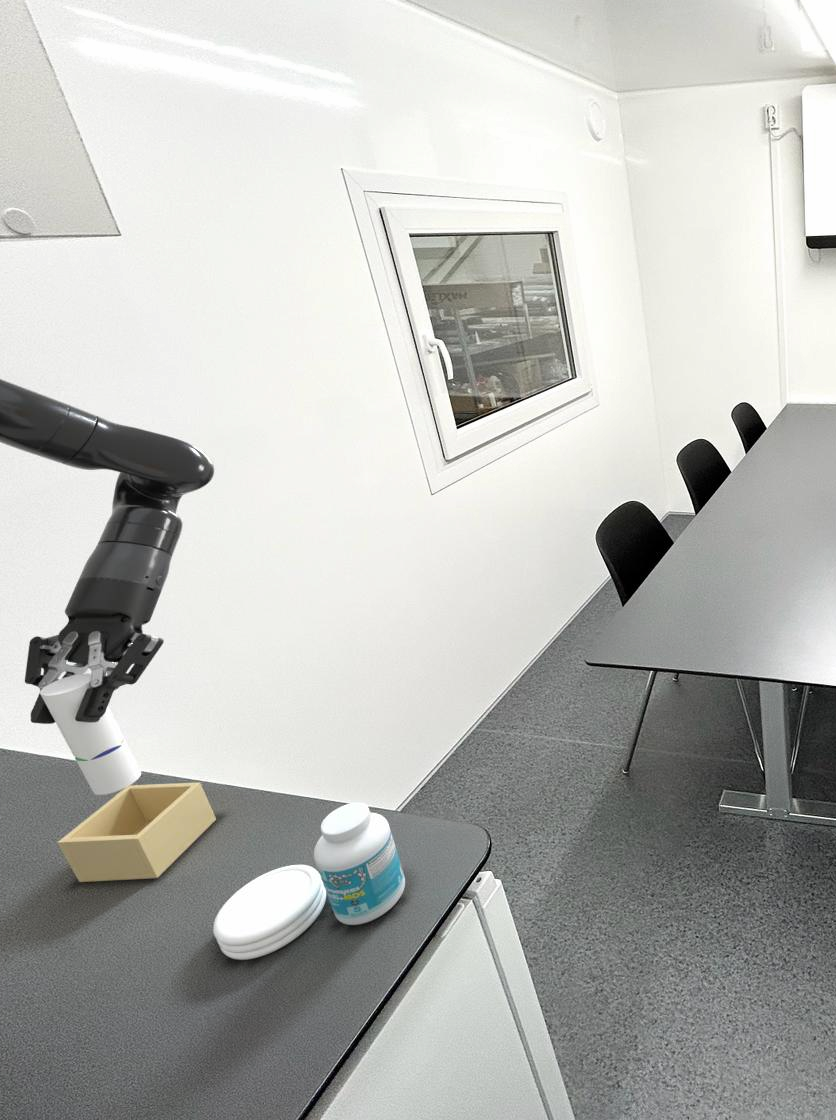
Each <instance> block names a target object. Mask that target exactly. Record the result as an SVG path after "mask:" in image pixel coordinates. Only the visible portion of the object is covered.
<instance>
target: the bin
mask: <svg viewBox="0 0 836 1120" xmlns="http://www.w3.org/2000/svg"><path fill="white" fill-rule="evenodd" d="M216 820H217V818H216V815H215V813H214V811H213V809H212V807H211V804H210V802H209V799H208V798H207V795H206V793H205V790H204V788H203V786H202V783H201V782H179V783H155V784H131V785H129V786H127V787H126V788H123V789H121V790H120V791H119V792H118V793H117V794H115V796H113V797H112V798H111V799H110V800H108V801H107V802H106V803H104V804H103V805H102V806H100V807H99V808H98V809H97V810H95V812H93V813H92V814H91V815H89V816H88V817H87V818H86V819H85V820H83V821H82V822H81V823H79V824H78V825H77V826H76V827H74V828H73V829H72V830H71V831H70V832H68V833H67V834H66V835H65V836H63V837H62V838H60V839H59V840H58V841H57V842H56V844H57V845H58V847H59V849H60V851H61V852H62V854H63V855H64V857H65V859H66V861H67V862H68V864H69V866H70V868H71V870H72V871H73V873H74V875H75V877H76V879H77V880H78V882H79V883H85V882H86V883H87V882H88V883H89V882H107V881H109V882H110V881H125V880H145V879H147V880H149V879H158V878H159V877H160V876H161V875H162V874H163V873H164V872H165V871H166V870H167V869H168V868H169V867H170V866H171V865H172V864H173V863H174V862H175V861H176V860H177V859H178V858H179V857H180V856H181V855H182V854H183V853H184V852H185V851H186V850H187V849H188V848H189V847H190V846H191V845H192V844H193V843H194V842H195V841H196V840H198V839H199V838H200V836H201V835H202V834H203V833H204V832H205V831H206V830H208V828H209V827H210V826H212V825H213V823H214V822H215V821H216Z"/></svg>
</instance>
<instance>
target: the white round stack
mask: <svg viewBox="0 0 836 1120" xmlns="http://www.w3.org/2000/svg"><path fill="white" fill-rule="evenodd" d="M326 901H327V892H326V889H325V887H324V884H323V881H322V879H321V876H320V873H319V870H318V869H316V868H315V867H313V866H311V865H308V864H307V865H306V864H293V865H292V864H291V865H287V866H282V867H279V868H275V869H272V870H270V871H268V872H266V873H264V874H261V875H259V876H257V877H256V878H254V879H253V880H251V881H249V882H248V883H246V884H245V885H244V886H242V887H241V888H239V889H238V890H237V891H235V892H234V894H233V895H232V896H230V898H228V900H226V902H225V903H224V904H223V905H222V907H221V908H220V909H219V911H218V912H217V914H216V916H215V918H214V922H213V925H212V927H213V928H212V933H213V936H214V938H215V939H216V942H217V944H218V946H219V949H220V950H221V952H222V953H223V955H225V956H227V957H228V958H231V959H233V960H238V961H245V960H253V959H257V958H260V957H264V956H266V955H269V954H271V953H274V952H275V951H277V950H279V949H282V948H283V947H285V946H286V945H288V944H289V943H291V942H292V941H294V940H295V939H297V938H298V937H300V935H302V934H303V933H304V932H305V931H306V930H307V929H308V928H309V927H311V926H312V924H313V923H314V922H315V921H316V920H317V919H318V918H319V916H320V914H321V912H322V911H323V909H324V907H325V904H326Z"/></svg>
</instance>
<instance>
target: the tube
mask: <svg viewBox="0 0 836 1120" xmlns="http://www.w3.org/2000/svg"><path fill="white" fill-rule="evenodd" d="M90 683H91V673H83V674H77V675H73V676H69V677H65V678H63V679H62V678H60V679H59V680H57V681H55V682H53V683H51V684H49V685H47V686H45V687H44V688H43V689H42V690H41V691H40V690H39V693H40V694H41V696H42V698H43V700H44V702H45V704H46V705H47V707H48V709H49V711H50V713H51V715H52V717H53V718H54V720H55V724H56V726H57V728H58V729H59V731H60V734H61V735H62V737H63V739H64V741H65V742H66V744H67V747H68V748H69V750H70V752H71V754H72V756H74V759H75V762H76V763H77V765H78V767H79V768H80V771H81V773H82V774H83V776H84V778H85V780H86V782H87V783H88V785H89V787H90V790H91V791H92V793H93V794H94V795H96V796H104V795H110V794H113V793H116V792H120V791H122V790H123V789H125V788H126V787H127V786H129V785H133V784H134V783H135V782H136V781H138V780H139V779H140V777H141V776H142V771H141V769H140V767H139V765H138V762H137V761H136V759H135V756H134V754H133V753H132V751H131V749H130V746H129V745H128V743H127V741H126V739H125V737H124V735H123V733H122V730H121V729H120V726H119V724H118V723H117V721H116V718H115V717H114V714H113V712H112V710H111V709H110V706H109V705H108V707H107V709H106V712H105V713H104V715H103V716H102V717H101V718H100V720H99V721H98V722H90V723H88V722H78V721H76V720H75V717H76V714H77V712H78V709H79V707H80V704H81V702H82V700H83V697H84V695H85V692H86V690H87V689H91V688H93V687H91V685H90Z"/></svg>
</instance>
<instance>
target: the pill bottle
mask: <svg viewBox="0 0 836 1120" xmlns="http://www.w3.org/2000/svg"><path fill="white" fill-rule="evenodd" d="M320 831H321V836H320V838H319V839H318V840H317V842H316V844H315V847H314V850H313V859H314V862H315V865H316V868H317V871H318V873H319V874H320V876H321V880H322V881H323V884H324V887H325V889H326V896H327V897H328V901H329V904H330V906H331V909H332V911H333V915H334V917H335V918H336V919H337V921H339V922H340V923H341V924H343V925H348V926H357V925H363V924H367V923H369V922H372V921H374V920H376V919H378V918H379V917H381V916H383V915H384V914H386V913H387V912H388V911H389V910H391V909H392V908H393V907H394V906H395V905H396V904H397V902H399V900H400V898H401V897H402V895H403V893H404V891H405V886H406V877H405V874H404V871H403V867H402V864H401V861H400V857H399V853H398V850H397V847H396V844H395V840H394V838H393V833H392V830H391V827H390V824H389V822H388V820H387V819H386V818H385V817H384V816H383V815H381V814H379V813H376V812H371V811H370V808H369V806H368V805H367V804H366V803H364V802H350V803H347V804H344V805H342V806H339V807H338V808H336V809H334V810H333V811H331V812H330V813H329V814H327V815H326V817H325V818H324V819H323V820H322V822H321V824H320Z"/></svg>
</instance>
